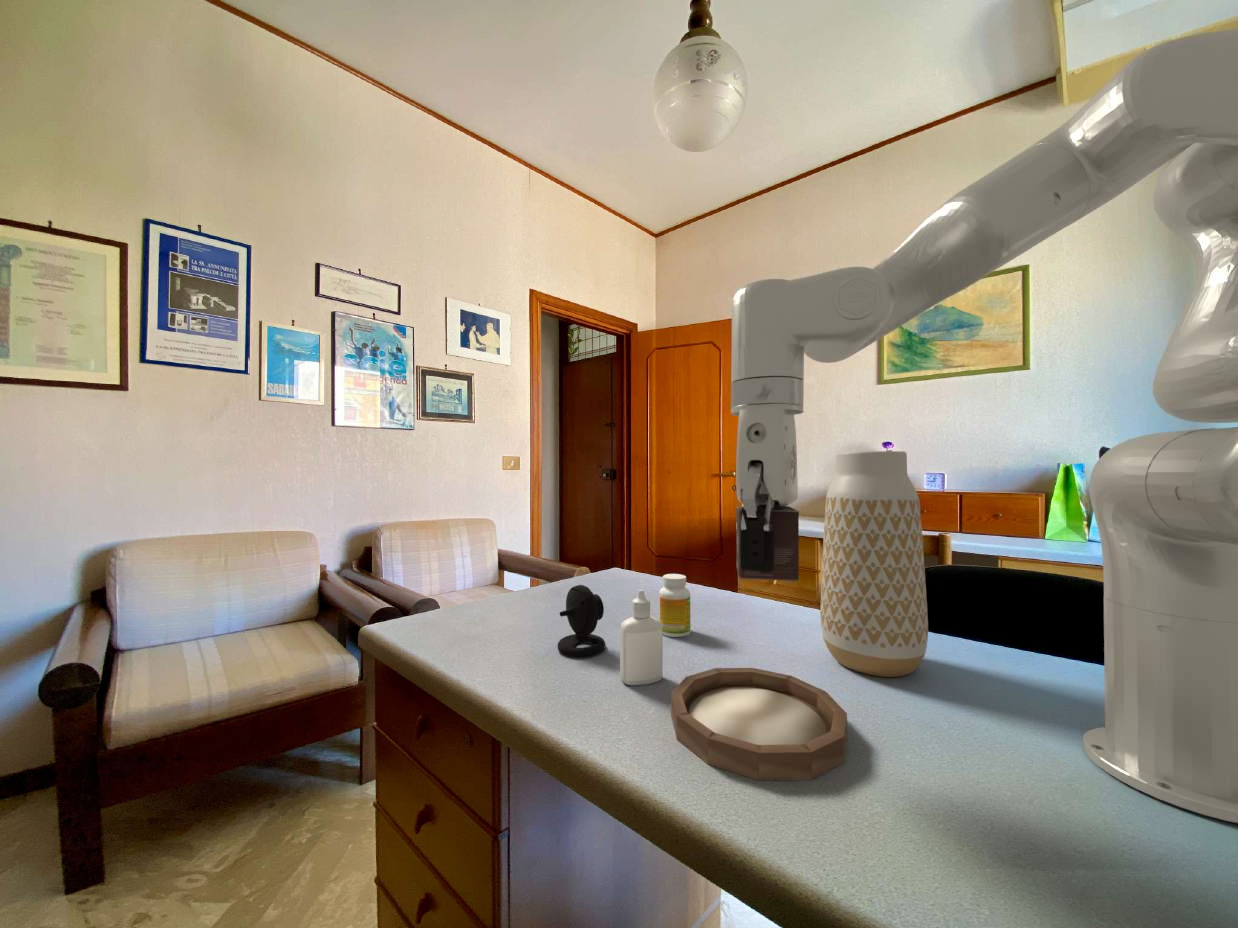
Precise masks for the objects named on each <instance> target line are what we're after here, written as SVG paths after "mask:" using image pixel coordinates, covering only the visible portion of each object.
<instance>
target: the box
mask: <svg viewBox="0 0 1238 928" xmlns="http://www.w3.org/2000/svg"><path fill="white" fill-rule="evenodd" d="M743 506H744V505H737V506H736V507H735V508H736V512H735V513H736V515H735V516H736V525H735V526H736V531H735V532H736V535H735V536H736V563H735V564H736V565H735V567H736V571H737V575H738V578H740V579H741V580H761V581H762V580H763V581H780V582H781V581H782V582H799V580H800V577H799V576H800V573H799V572H800V571H799V570H800V567H799V566H800V565H799V564H800V562H799V561H800V557H799V556H800V555H799V554H800V553H799V552H800V551H799V550H800V544H799V541H800V540H799V539H800V537H799V536H800V533H799V529H800V528H799V526H800V523H799V521H800V520H799V517H800V511H799V510H797V509H795V508H793V507H791V506H790V505H786V506H773V515H772V525H771V531H772V532H774V570H773V571H772V572H762V571H753V570H745V569H742V568H741V530H742V529H741V520H742V512H743V511H742V508H743ZM764 517H765V510H764Z"/></svg>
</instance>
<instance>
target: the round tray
mask: <svg viewBox="0 0 1238 928" xmlns="http://www.w3.org/2000/svg"><path fill="white" fill-rule="evenodd" d="M670 716H671V717H670V718H671V721H672V724H673V729H674V733H675V738H676V740H677V741H679V742H680V743H681V744H682V745H683V746H685V747H686V748H687V749H688V750H690V751H691V752H692V753H693V754H695V755H696V756H697V757H698V758H700V760H702V761H704V762H705V763H706V764H707V765H709V766H711V767H716V768H719V769H723V770H724V771H729V772H731V773H735V774H738V775H741V776H744V777H747V778H749V779H754V780H756V781H813V780H814V779H816V778H818V777H820V776H822V775H824V774H826V773H827V772H829V771H831V770H832V769H835V768H836V767H838V766H841V765H842V764H844V763H845V760H846V759H845V757H846V749H847V742H848V713H847V712H846V711H845V710H844V709H843V707H841V705H839V703H838V702H837V701H836V700H835V699H834V698H833V697H832V696H831V695H830V694H829V693H828V692H827V691H826V690H823V689H822V688H819V687H817V686H814V685H813V684H811V683H808V682H806V681H804V680H803V679H802V680H801V679H800V678H797V677H796V676H794V675H793V676H792V675H789V674H784V673H781V672H775V671H769V670H765V669H760V668H755V667H714V668H712V669H708V670H705V671H701V672H697V673H695V674H691V675H688V676H686V677H684V678H683V679H682V680H681V682H679V683H678V685H677V686H676V687H675V688H674V689H673V690H672V691H671V693H670Z"/></svg>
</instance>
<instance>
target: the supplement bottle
mask: <svg viewBox="0 0 1238 928" xmlns="http://www.w3.org/2000/svg"><path fill="white" fill-rule="evenodd" d="M662 584H663V587H661V589H660V590H659V593H658V607H659V609H658V620H659V621H660V622H661V624H662V636H665V637H670V638H682V637H686V636H689V635H690V633H691V591H690V589H688V588H687V587H686V586H687V576H686V575H685V574H679V573H667V574H664V575H663V576H662Z"/></svg>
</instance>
